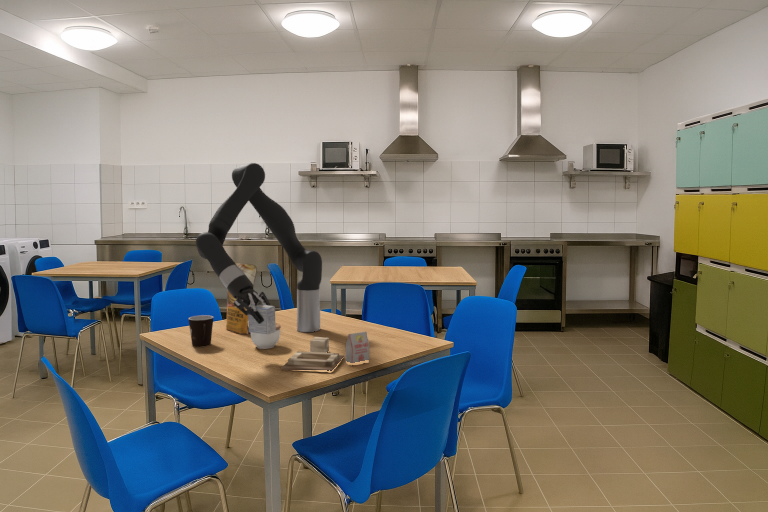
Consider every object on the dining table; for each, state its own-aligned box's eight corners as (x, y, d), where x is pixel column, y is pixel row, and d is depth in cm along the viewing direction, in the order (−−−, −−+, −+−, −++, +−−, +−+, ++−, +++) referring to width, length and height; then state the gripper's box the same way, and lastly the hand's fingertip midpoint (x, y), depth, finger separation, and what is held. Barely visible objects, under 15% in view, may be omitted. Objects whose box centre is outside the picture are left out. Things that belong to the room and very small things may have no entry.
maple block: (315, 351, 173) (315, 337, 173) (328, 352, 172) (329, 337, 172) (310, 354, 169) (310, 340, 168) (324, 355, 167) (324, 341, 167)
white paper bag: (345, 363, 159) (345, 333, 158) (362, 360, 163) (363, 330, 162) (351, 366, 156) (351, 335, 155) (369, 362, 160) (369, 332, 159)
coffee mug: (193, 341, 184) (192, 315, 183) (216, 341, 185) (216, 315, 184) (183, 350, 172) (182, 322, 172) (208, 349, 173) (207, 321, 172)
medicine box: (276, 331, 162) (275, 306, 161) (267, 335, 158) (266, 308, 157) (257, 329, 165) (256, 304, 164) (248, 332, 161) (247, 306, 160)
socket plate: (297, 356, 167) (297, 348, 166) (344, 358, 164) (344, 351, 164) (281, 370, 151) (281, 362, 151) (332, 373, 148) (332, 365, 148)
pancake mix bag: (234, 325, 212) (233, 260, 209) (259, 333, 199) (258, 264, 196) (220, 328, 207) (219, 261, 204) (244, 336, 194) (243, 265, 191)
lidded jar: (271, 351, 171) (271, 325, 171) (244, 349, 175) (244, 323, 174) (285, 344, 182) (285, 319, 181) (260, 341, 185) (260, 317, 184)
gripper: (227, 276, 156) (259, 317, 152) (256, 271, 169) (286, 308, 165) (214, 292, 159) (246, 332, 155) (244, 285, 172) (273, 323, 168)
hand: (266, 320), depth 160 cm, fingers closed on medicine box, 4 cm apart
